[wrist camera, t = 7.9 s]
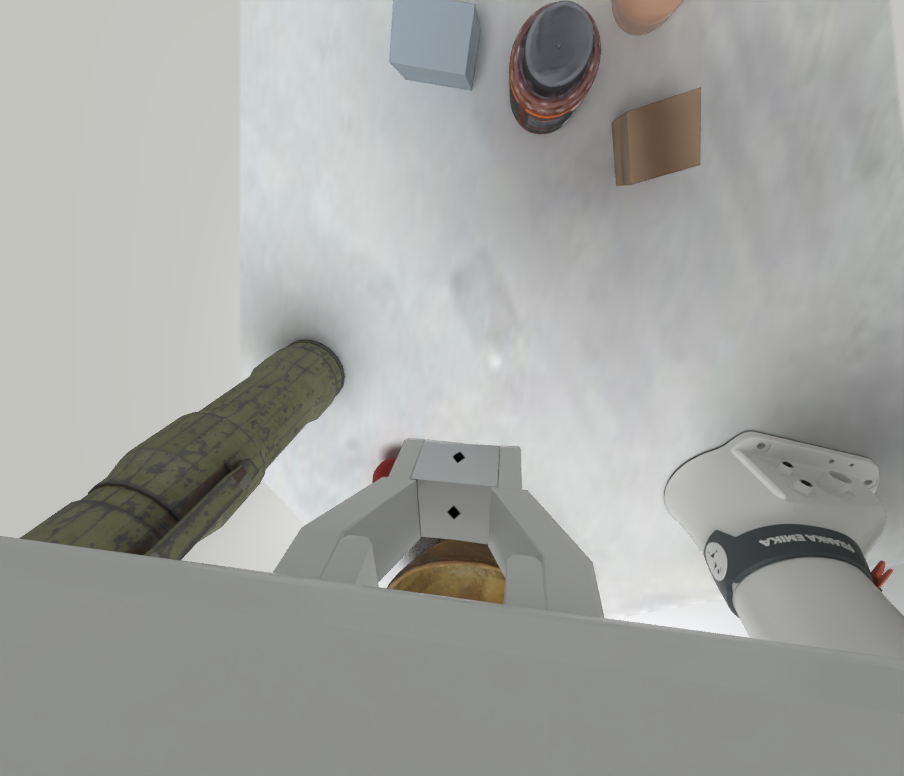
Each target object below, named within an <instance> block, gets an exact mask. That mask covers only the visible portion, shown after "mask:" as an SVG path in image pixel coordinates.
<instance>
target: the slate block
mask: <svg viewBox="0 0 904 776" xmlns="http://www.w3.org/2000/svg"><path fill="white" fill-rule="evenodd" d="M479 37H480V26H479V22H478V17H477V12H476V7H475V4H471V3H465V2H459V1H452V0H393V12H392V28H391V44H390V61H389V62H390V63H391V64H392V65H393V67H394V68H395V69H396V70H397V71H398V72H399V73H400V74H401V75H402V76H403V77H404V78H405V79H406V80H412V81H418V82H424V83H430V84H435V85H441V86H447V87H453V88H459V89H464V90H470V91H471V90H472V83H473V77H474V70H475V63H476V57H477V50H478V43H479Z"/></svg>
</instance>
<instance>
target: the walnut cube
mask: <svg viewBox="0 0 904 776" xmlns="http://www.w3.org/2000/svg"><path fill="white" fill-rule="evenodd" d="M700 131H701V87H700V88H697V89H694V90H691V91H688V92H685V93H682V94H679V95H676V96H673V97H670V98H667V99H664V100H661V101H658V102H655V103H652V104H649V105H646V106H643V107H640V108H637V109H634V110H631V111H628V112H626V113H625V114H623V115H622V116H621V117H619V118H618V119H617V120H615V121H614V122H612V133H613V147H614V160H615V174H616V186H621V185H632V184H635V183H639V182H642V181H646V180H649V179H653V178H656V177H660V176H663V175H667V174H670V173H674V172H677V171H681V170H684V169H687V168H691V167H694V166H698V165H700Z"/></svg>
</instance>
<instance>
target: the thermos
mask: <svg viewBox="0 0 904 776" xmlns="http://www.w3.org/2000/svg"><path fill="white" fill-rule="evenodd" d="M344 377H345V376H344V371H343V366H342V365H341V363H340V361H339V359H338V357H337V356H336V355H335V354H334V353H333V352H332V351H331V350H330V349H329V348H327V347H326V346H324V345H322V344H321V343H318V342H314V341H311V340H300V341H297V342H294V343H292V344H290V345H289V346H288V347H287V348H284V349H281V350H279V351H277V352H276V353H274V354H273V355H271V356H270V357H268V358H267V359H266V360H264V361H263V362H262V363H261V364H259V365H258V366H257V367H256V368H254V369H253V371H252V373H251V375H250V377H248V378H247V379H245V380H244V381H242V382H241V383H240V384H238V385H237V386H235V387H234V388H232V389H231V390H229V391H228V392H226V393H225V394H224V395H222V396H221V397H219V398H218V399H216V400H215V401H213V402H212V403H211V404H209V405H208V406H206V407H205V408H203V409H202V410H200V411H199V412H194V413H190V414H187V415H184V416H182V417H180V418H178V419H177V420H175V421H174V422H172V423H171V424H169V425H168V426H166V427H165V428H164V429H162V430H160V431H159V432H158V433H156V434H155V435H153V436H151V437H150V438H148V439H147V440H146V441H144V442H143V443H141V444H140V445H138V446H137V447H135V448H134V449H132V450H131V451H129V452H128V453H127V454H126V455H125V456H124V457H123V458H122V459H121V460H120V461H119V462H118V464H117V465H116V466H115V468H114V469H113V470H112V471H111V473H110V474H109V475H108V477H107V478H105V479H104V480H103V481H101V482H100V483H98V484H97V485H95V486H94V487H93V488H92V489H91V490H90V492H88V495H87V496H85V497H84V498H83V499H81V500H79V501H75V502H71V503H70V504H69V505H67V506H65V507H64V508H62V509H61V510H60V511H58V512H57V513H55V514H54V515H52V516H51V517H50V518H48V519H47V520H45V521H44V522H42V523H41V524H40V525H38V526H37V527H35V528H34V529H33V530H31V531H29V532H28V533H27V534H25V535H24V536H22V537H21V538H19V539H26V540H33V541H41V542H48V543H56V544H63V545H70V546H78V547H85V548H92V549H100V550H107V551H114V552H122V553H129V554H137V555H144V556H151V557H159V558H166V559H173V560H181V559H182V558H183V557H184V556H185V555H186V554H187V553H188V552H189V551H190V550H191V549H192V548H193V546H194V545H195V544H196V543H197V542H199V541H200V540H202V539H204V538H205V537H207V536H208V535H210V534H212V533H213V532H215V531H216V530H218V529H219V528H221V527H222V526H223V525H224V524H225V523H226V522H227V520H228V519H229V518H230V517H231V516H232V515H233V514H234V512H235V511H236V510H237V509H238V508H239V507H240V505H241V504H242V503H243V502H244V501H245V500H246V499H247V498H248V496H249V495H250V494H251V493H252V492H253V491H254V490H255V488H256V487H257V486H258V485H259V484H260V482H261V480H262V478H263V477H264V474H265V470H266V468H267V467H268V466H269V465H270V464H271V463H272V462H273V461H274V460H275V458H276V457H277V456H278V455H279V454H280V453H281V452H282V451H283V450H284V448H285V447H286V446H287V445H288V444H289V443H290V442H291V441H292V440H293V438H294V437H295V436H296V435H297V434H298V433H299V432H300V431H301V430H302V428H303V427H304V426H305V425H306V424H307V423H309V422H311V421H314V420H316V419H318V418H319V417H320V416H321V414H322V413H323V412H324V411H325V410H326V409H327V408H328V406H329V405H330V404H331V403H332V401H333V400H334V398H335V396H336V395H337V394H338V393H339V392H340V390H341V388H342V387H343V384H344Z"/></svg>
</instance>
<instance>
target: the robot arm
mask: <svg viewBox="0 0 904 776" xmlns="http://www.w3.org/2000/svg"><path fill="white" fill-rule="evenodd" d="M760 443H761V444H760ZM758 444H760V445H758ZM499 453H500V454H499ZM498 471H499V472H498ZM878 484H879V470H878V466H877V465H876V464H875V463H874V462H873V461H872V460H871V459H868V458H865V457H861V456H857V455H852V454H848V453H844V452H839V451H835V450H831V449H827V448H822V447H818V446H814V445H809V444H805V443H801V442H796V441H792V440H788V439H783V438H779V437H775V436H770V435H766V434H762V433H757V432H752V431H750V432H745V433H742V434H740V435H738V436H737V437H735V438H734V439H733V440H731V441H730V442H728V443H727V444H726V445H724V446H723V447H721V448H718V449H716V450H713V451H710V452H707V453H705V454H702V455H700V456H698V457H696V458H694V459H692V460H690V461H689V462H687V463H686V464H684V465H683V466H682V467H681V468H680V469H679V470H677V471H676V473H675V474H674V475H673V476H672V477H671V479H670V481H669V482H668V484H667V487H666V490H665V495H664V500H665V505H666V508H667V510H668V512H669V514H670V515H671V516H672V517H673V518H674V519H675V520H676V521H677V522H678V523H679V524H680V525H681V526H682V527H683V529H684V530H685V531H686V532H687V533H688V535H689V536H690V537H691V538H692V540H693V541H694V542H695V544H696V545H697V546H698V548H699V549H700V551H701V552H702V554H703V555H704V557H705V560H706V562H707V565H708V567H709V570H710V572H711V574H712V576H713V579H714V580H715V582H716V584H717V586H718V588H719V590H720V592H721V593H722V595H723V597H724V599H725V600H726V602H727V604H728V606H729V607H730V609H731V611H732V612H733V613H734V614H735V615H736V616H737V617H738V618H740V619H741V621H742V623H743V625H744V627H745V629H746V631H747V633H748V635H749V636H750V638H746V637H739V636H732V635H725V634H716V633H710V632H702V631H695V630H688V629H680V628H672V627H666V626H658V625H651V624H644V623H636V622H629V621H621V620H614V619H607V618H604V614H603V609H602V605H601V600H600V595H599V591H598V586H597V581H596V576H595V572H594V567H593V562H592V561H591V560H590V559H589V558H588V557H587V556H586V555H585V553H584V552H583V551H582V550H581V549H580V548H579V547H578V546H577V545H576V543H575V542H574V541H573V540H572V539H571V538H570V537H569V536H568V535H567V533H566V532H565V531H564V530H563V529H562V528H561V527H560V526H559V525H558V523H557V522H556V521H555V520H554V519H553V518H552V517H551V516H550V515H549V513H548V512H547V511H546V510H545V509H544V508H543V507H542V506H541V505H540V503H539V502H538V501H537V500H536V499H535V498H534V497H533V496H532V495H531V493H530V492H529V491H528V490H522V479H521V448H520V447H519V446H501V445H500V446H492V445H478V444H464V443H457V442H447V441H437V440H427V439H426V440H425V439H415V438H407V439H406V440H405V441H404V443H403V445H402V447H401V450H400V452H399V454H398V456H397V459H396V461H395V463H394V465H393V468H392V470H391V472H390V474H389V476H388V477H382V478H380V479H378V480H377V481H375V482H374V483H372V484H371V485H369V486H367V487H366V488H364V489H363V490H361V491H359V492H358V493H356V494H355V495H353V496H351V497H350V498H348V499H347V500H345V501H343V502H342V503H340V504H339V505H337V506H335V507H334V508H332V509H331V510H329V511H327V512H326V513H324V514H323V515H321V516H319V517H318V518H316V519H315V520H313V521H312V522H310V523H308V524H307V525H305V526H304V527H302V528H301V530H300V531H299V533H298V534H297V536H296V537H295V539H294V540H293V542H292V544H291V545H290V547H289V549H288V550H287V551H286V553H285V555H284V556H283V558H282V559H281V561H280V562H279V564H278V565H277V567H276V569H275V570H274V572H273V573H269V572H261V571H254V570H247V569H239V568H232V567H225V566H217V565H210V564H203V563H195V562H188V561H181V560H173V559H166V558H159V557H151V556H144V555H137V554H129V553H122V552H114V551H107V550H100V549H92V548H85V547H78V546H70V545H63V544H56V543H48V542H41V541H33V540H26V539H19V538H11V537H4V536H0V776H904V616H903V615H902V614H901V613H900V612H899V611H898V609H897V608H896V607H894V605H893V604H892V603H891V602H890V601H889V600H888V599H887V598H886V597H885V596H884V595H883V593H882V590H881V588H880V587H881V586H882V585H883V583H884V582H885V581H886V580H887V579H888V577H889V576H890V574H891V573H892V572H893V570H892V569H889V570H887V571H886V572H885V573H884V574H883V575H882V573H883V572H884V568H885V562H884V561H880V562H879V563H878V564H877V565H876V567H875V568H874V569H873V570H872V572H870V570H869V567H868V564H867V562H866V560H865V557H866V555H867V554H868V553H869V551H870V550H871V549H872V547H873V546H874V544H875V543H876V542H877V540H878V539H879V537H880V535H881V533H882V531H883V529H884V526H885V522H886V513H885V509H884V506H883V504H882V503H881V501H880V500H879V499H878V498H877V496H876V495H875V493H876V491H877V488H878ZM420 537H430V538H441V539H453V540H460V541H467V542H474V543H481V544H488V547H489V548H490V550H491V552H492V554H493V556H494V558H495V560H496V562H497V564H498V565H499V567H500V569H501V571H502V573H503V575H504V577H505V591H504V602H503V604H497V603H490V602H482V601H475V600H468V599H460V598H453V597H446V596H438V595H431V594H423V593H416V592H409V591H401V590H394V589H387V588H379V587H378V582H379V581H380V580H381V579H382V578H383V577H384V576H385V575H386V574H387V573H388V572H389V571H390V570H391V569H392V568H393V567H394V566H395V565H396V563H397V562H398V561H399V560H400V559H401V558H402V557H403V556H404V555H405V554H406V553H407V552H408V551H409V550H410V549H411V548H412V547H413V546H414V545H415V544H416V543H417V542H418V541H419V540H420Z"/></svg>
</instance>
